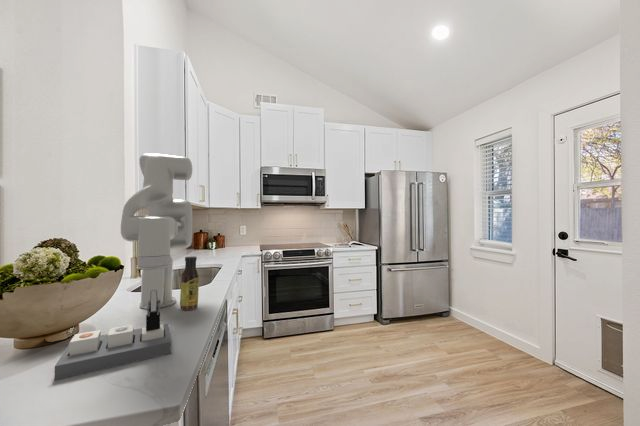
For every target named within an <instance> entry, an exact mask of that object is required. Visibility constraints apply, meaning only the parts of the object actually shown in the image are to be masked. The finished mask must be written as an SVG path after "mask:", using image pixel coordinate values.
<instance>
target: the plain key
mask: <svg viewBox="0 0 640 426" xmlns="http://www.w3.org/2000/svg"><path fill="white" fill-rule="evenodd" d="M134 326H135V325H134V324H128V325H123V326H115V327H110V329H109V332H108V333H107V334H108V348H112V347H117V346H122V345H127V344H132V343H133V335H134V328H135V327H134Z"/></svg>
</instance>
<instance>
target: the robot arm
mask: <svg viewBox="0 0 640 426" xmlns="http://www.w3.org/2000/svg"><path fill="white" fill-rule="evenodd" d="M139 168H140V171H141V174H142V175H143V176H142V177H143V183H142V189H140V190H138V191H137V192H136V193H134V194H133V195H131V197H130V198H128V200H127V201H126V202H125V204H124V205H123V206H124V207H123V209H122V214H121V221H120V235H121V237H122V239H123V240H125V241H127V242H130V243H132V242H133V243H134V242H135V243H136V242H138V243H137V269H138V270H142V271H141V283H140V286H141V287H140V292H141V294H140V303H139V307H140V308H142V309H145V310H147V314H146V317H145V318H146V319H145V327H146V331H150V330H156V329H159V328H160V324H161V312H160V309H161V308H166V307H169V306H172V305H174V304H176V302H177V298H176V297H173V270H174V269H173V266H174V265H173V264H174V263H173V262H174V260H173V257H172V256H171V250H174V249H187V248H190V246H191V245H192V243H193V206H192V203H191V202H190V201H189V200H186V199H176V198H175V199H174V198H173V194H174V180H177V181H190V179H192V176H193V165H192V161H191V159H190V158H189V157H188V156H187V157H186V156H178V155H172V154H171V155H169V154H163V153H144V154H142V155H140V156H139ZM144 208H147V214H148V215H136V213H138V212H139V211H140V210H142V209H144ZM179 224H180V225H179Z"/></svg>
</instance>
